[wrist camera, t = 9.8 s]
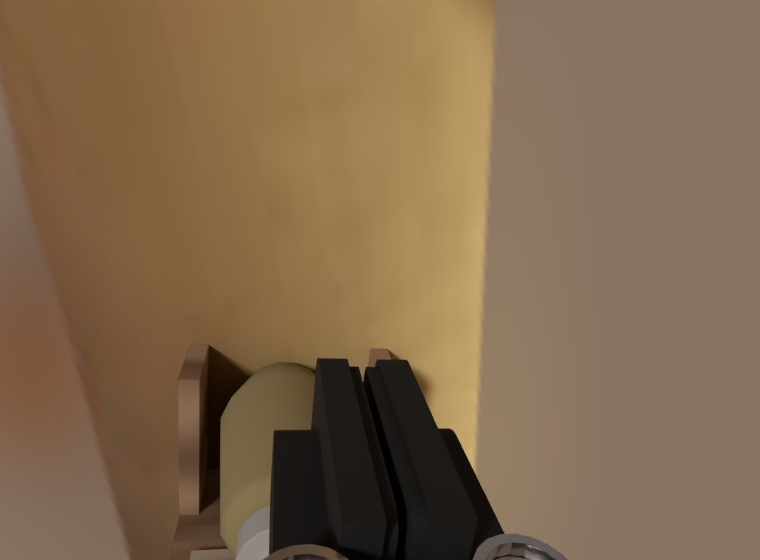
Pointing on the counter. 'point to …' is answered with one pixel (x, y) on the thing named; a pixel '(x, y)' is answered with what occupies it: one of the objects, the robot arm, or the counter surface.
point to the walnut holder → (202, 464)
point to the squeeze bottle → (257, 451)
